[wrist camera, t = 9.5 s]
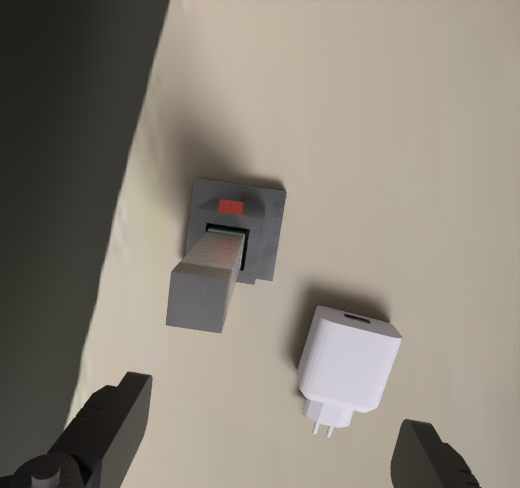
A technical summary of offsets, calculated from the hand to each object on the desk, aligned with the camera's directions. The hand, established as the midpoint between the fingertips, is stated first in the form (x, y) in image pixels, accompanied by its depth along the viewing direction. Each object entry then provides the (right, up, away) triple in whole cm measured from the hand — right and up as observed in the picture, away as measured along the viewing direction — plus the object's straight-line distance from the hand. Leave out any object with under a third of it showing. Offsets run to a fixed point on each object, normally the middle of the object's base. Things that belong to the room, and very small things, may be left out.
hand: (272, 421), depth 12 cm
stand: (-3, +7, +32) cm, 33 cm away
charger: (+9, -10, +35) cm, 38 cm away
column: (-3, +6, +25) cm, 26 cm away
